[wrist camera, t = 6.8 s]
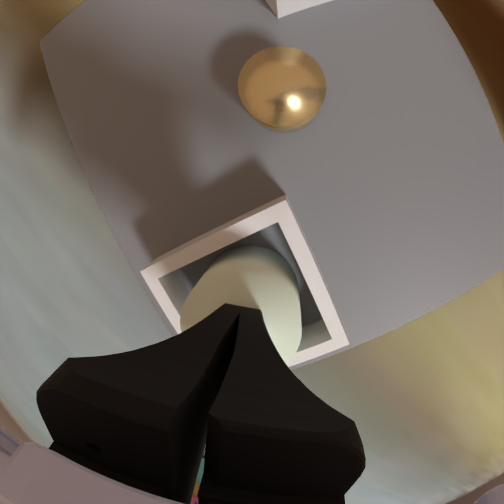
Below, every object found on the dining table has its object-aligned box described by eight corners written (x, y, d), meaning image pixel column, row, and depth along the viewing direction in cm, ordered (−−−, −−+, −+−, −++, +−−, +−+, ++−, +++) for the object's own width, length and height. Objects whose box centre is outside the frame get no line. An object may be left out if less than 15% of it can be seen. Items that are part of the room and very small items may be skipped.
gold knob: (297, 57, 11) (300, 34, 8) (331, 116, 11) (342, 105, 9) (234, 85, 11) (222, 68, 9) (267, 145, 12) (262, 140, 10)
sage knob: (273, 228, 13) (268, 252, 10) (313, 312, 14) (319, 356, 10) (187, 268, 14) (158, 301, 11) (231, 342, 15) (217, 389, 11)
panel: (332, -88, 8) (336, -120, 5) (511, 247, 13) (545, 265, 10) (53, 47, 12) (17, 35, 9) (217, 377, 18) (204, 416, 14)
